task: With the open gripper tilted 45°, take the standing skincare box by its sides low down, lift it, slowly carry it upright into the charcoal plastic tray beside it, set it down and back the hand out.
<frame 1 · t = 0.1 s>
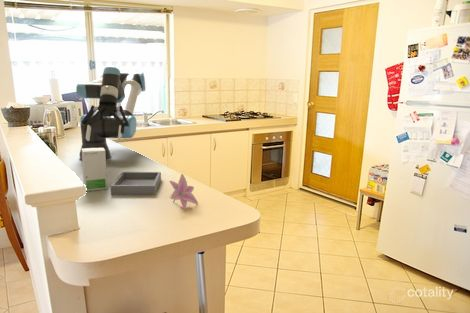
hand: (103, 139, 148), 15 cm above the worktop, tool tilted 35°, fingers open, 13 cm apart
skincare box: (95, 188, 134), on the worktop
tray: (137, 186, 136), on the worktop
lily: (182, 205, 119), on the worktop
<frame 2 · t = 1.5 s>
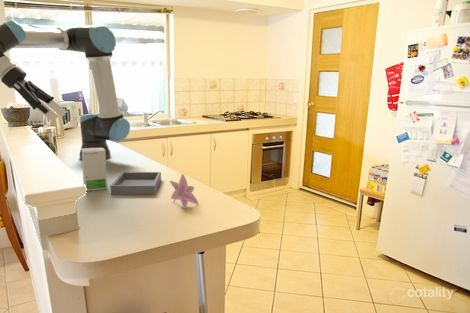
hand: (60, 116, 124), 28 cm above the worktop, tool tilted 45°, fingers open, 13 cm apart
nothing on the worktop moved.
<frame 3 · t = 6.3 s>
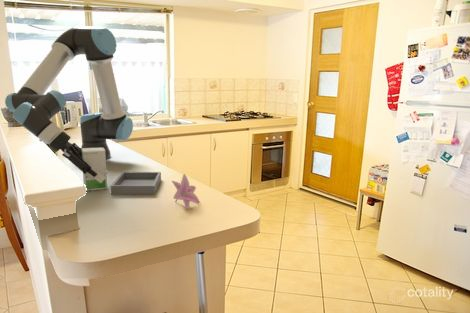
hand: (104, 177, 133), 4 cm above the worktop, tool tilted 45°, fingers closed on skincare box, 7 cm apart
skincare box: (95, 188, 134), on the worktop, touching gripper
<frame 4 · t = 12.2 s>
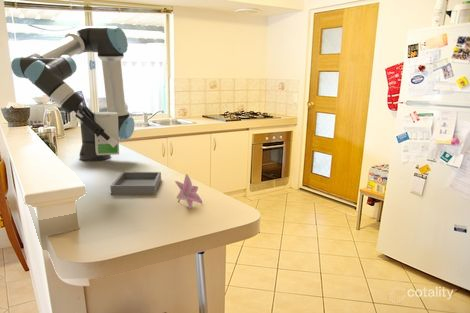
hand: (116, 142, 130), 18 cm above the worktop, tool tilted 45°, fingers closed on skincare box, 7 cm apart
skincare box: (107, 153, 130), point 14 cm above the worktop, touching gripper
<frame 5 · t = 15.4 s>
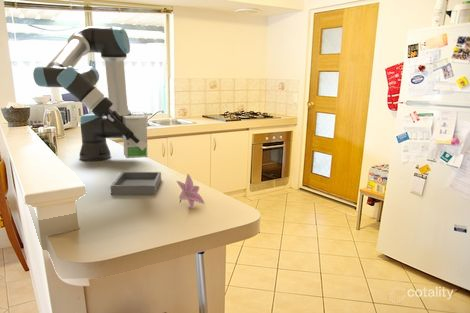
hand: (144, 145, 132), 17 cm above the worktop, tool tilted 45°, fingers closed on skincare box, 7 cm apart
skincare box: (136, 156, 133), point 13 cm above the worktop, touching gripper
when the fingers open (6 cm above the worktop, at t = 18.0 s): skincare box drops 1 cm, resting on tray.
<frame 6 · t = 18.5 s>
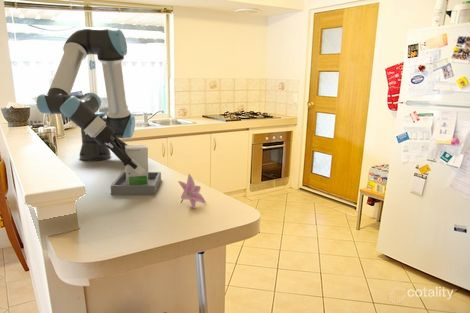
hand: (143, 168, 135), 8 cm above the worktop, tool tilted 45°, fingers open, 13 cm apart
skincare box: (137, 184, 136), point 1 cm above the worktop, touching tray
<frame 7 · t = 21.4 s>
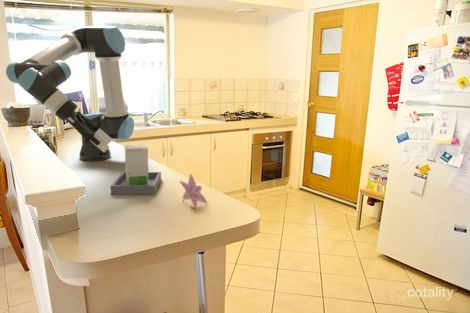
hand: (108, 145, 129), 17 cm above the worktop, tool tilted 45°, fingers open, 13 cm apart
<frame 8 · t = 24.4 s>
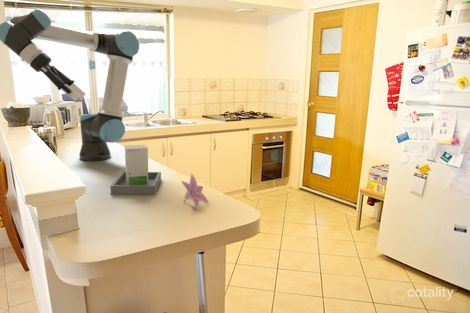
hand: (80, 97, 141), 34 cm above the worktop, tool tilted 45°, fingers open, 13 cm apart
at the end: skincare box inside the target area on the tray (0.1 cm from its centre), point 0.8 cm above the tray's base; skincare box tilted 0°; the gripper is holding nothing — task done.
